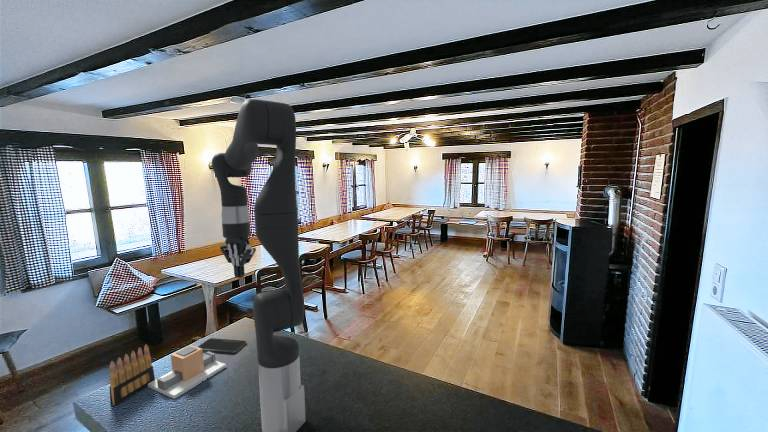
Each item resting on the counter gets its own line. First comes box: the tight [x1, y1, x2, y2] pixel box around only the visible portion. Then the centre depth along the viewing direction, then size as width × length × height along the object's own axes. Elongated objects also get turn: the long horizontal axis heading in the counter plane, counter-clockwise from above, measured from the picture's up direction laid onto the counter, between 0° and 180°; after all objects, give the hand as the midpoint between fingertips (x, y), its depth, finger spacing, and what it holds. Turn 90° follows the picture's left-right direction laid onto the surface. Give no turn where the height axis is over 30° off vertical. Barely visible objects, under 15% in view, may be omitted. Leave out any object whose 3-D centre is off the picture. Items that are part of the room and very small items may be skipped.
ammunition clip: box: [109, 344, 156, 407], centre depth 88 cm, size 11×2×12 cm, turn 162°
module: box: [170, 344, 204, 382], centre depth 95 cm, size 5×6×7 cm
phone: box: [197, 337, 247, 355], centre depth 113 cm, size 8×1×15 cm
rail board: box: [147, 351, 227, 400], centre depth 96 cm, size 12×16×4 cm
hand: (239, 277), depth 98 cm, fingers closed
